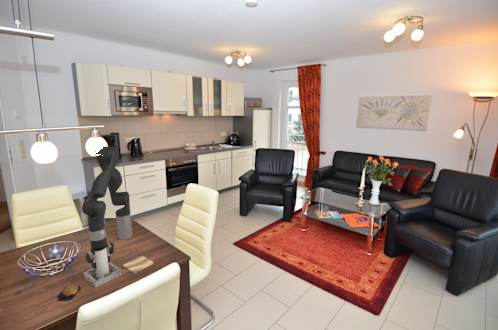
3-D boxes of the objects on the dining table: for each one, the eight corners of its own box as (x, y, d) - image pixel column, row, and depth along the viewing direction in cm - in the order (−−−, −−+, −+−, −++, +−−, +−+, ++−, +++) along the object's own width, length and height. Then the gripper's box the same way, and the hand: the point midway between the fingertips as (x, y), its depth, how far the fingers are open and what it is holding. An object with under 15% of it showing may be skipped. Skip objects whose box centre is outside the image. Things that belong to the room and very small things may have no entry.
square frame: (84, 277, 137) (83, 270, 136) (109, 265, 148) (108, 259, 147) (95, 287, 130) (94, 280, 129) (121, 274, 140) (120, 267, 139)
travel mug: (96, 281, 134) (91, 246, 130) (96, 274, 140) (92, 241, 136) (109, 277, 137) (105, 244, 133) (109, 270, 143) (105, 238, 139)
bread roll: (65, 288, 130) (64, 281, 129) (83, 285, 132) (82, 279, 131) (54, 303, 120) (53, 296, 119) (74, 300, 122) (73, 294, 121)
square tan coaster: (122, 266, 147) (122, 264, 147) (141, 256, 157) (141, 255, 157) (134, 274, 141) (133, 272, 140) (153, 263, 150) (153, 262, 150)
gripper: (108, 229, 142) (111, 256, 145) (79, 240, 130) (84, 269, 134) (115, 233, 137) (118, 261, 141) (86, 244, 126) (90, 274, 130)
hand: (101, 264), depth 137 cm, fingers closed on travel mug, 6 cm apart
